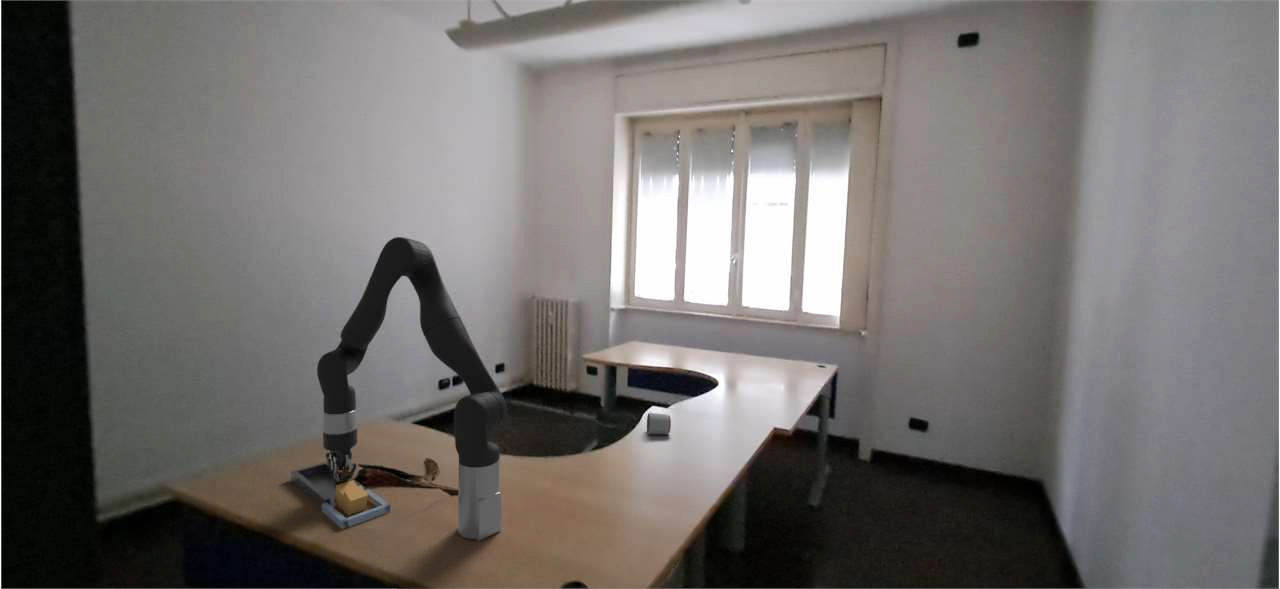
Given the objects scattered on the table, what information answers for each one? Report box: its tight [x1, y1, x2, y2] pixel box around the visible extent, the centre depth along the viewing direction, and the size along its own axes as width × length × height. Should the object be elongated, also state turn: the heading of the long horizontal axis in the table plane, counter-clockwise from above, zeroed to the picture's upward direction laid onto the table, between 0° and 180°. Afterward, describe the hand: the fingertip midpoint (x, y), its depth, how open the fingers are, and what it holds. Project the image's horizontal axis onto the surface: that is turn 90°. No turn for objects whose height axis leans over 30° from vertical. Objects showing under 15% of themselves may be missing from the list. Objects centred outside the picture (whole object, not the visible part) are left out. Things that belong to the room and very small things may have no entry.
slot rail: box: [290, 461, 366, 508], centre depth 141 cm, size 23×9×4 cm, turn 51°
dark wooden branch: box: [353, 457, 459, 496], centre depth 153 cm, size 23×6×30 cm
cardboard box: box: [341, 486, 368, 516], centre depth 130 cm, size 4×4×5 cm
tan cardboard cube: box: [334, 480, 357, 510], centre depth 133 cm, size 4×4×5 cm
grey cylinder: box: [646, 412, 672, 435], centre depth 197 cm, size 11×8×8 cm
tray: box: [321, 488, 391, 530], centre depth 130 cm, size 12×11×3 cm
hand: (341, 493), depth 136 cm, fingers closed
